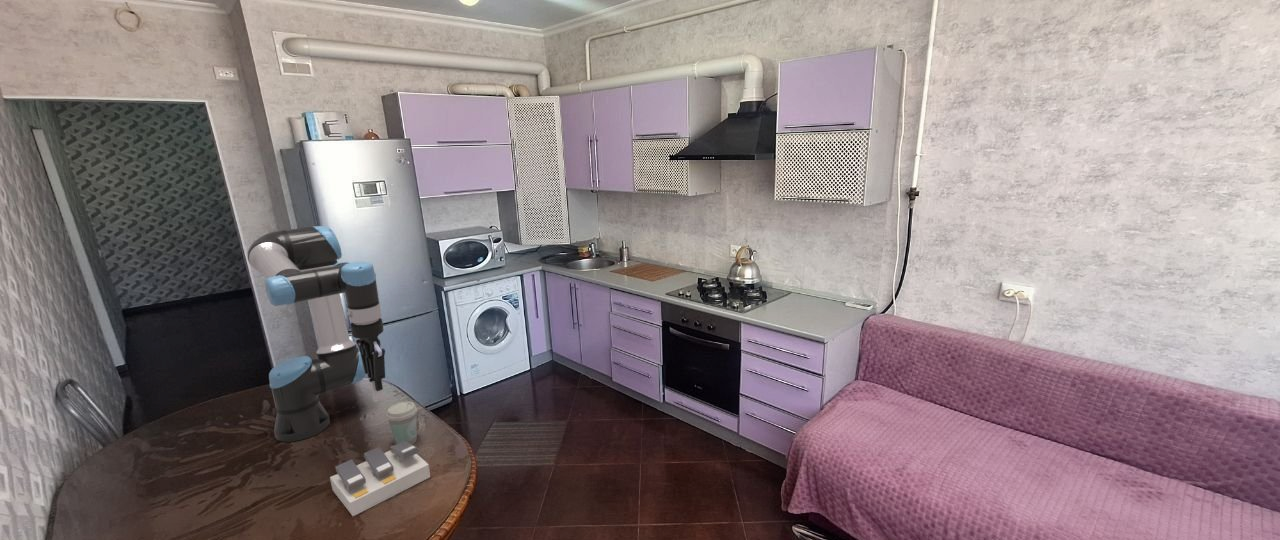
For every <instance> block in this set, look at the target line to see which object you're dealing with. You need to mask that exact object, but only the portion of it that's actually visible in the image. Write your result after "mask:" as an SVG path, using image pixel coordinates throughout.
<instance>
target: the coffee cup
mask: <svg viewBox="0 0 1280 540" xmlns="http://www.w3.org/2000/svg"><path fill="white" fill-rule="evenodd" d="M417 413H418V408H417V406H416V405H415V403H414V402H412V401H400V402H397V403H394V404H392V405H390V407H388V409H387V412H386V419H387V420H388V423H389V426H390V429H391V432H392V436H393V439H394V441H395V445H396V444H398V443H400V442H402V441H406V442H408V443H410V444H412V445H415V444H416V443H417V440H418V439H417V438H418V436H417V435H418V433H417V429H418V428H417V425H418V424H417Z"/></svg>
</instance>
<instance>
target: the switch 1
mask: <svg viewBox="0 0 1280 540" xmlns="http://www.w3.org/2000/svg"><path fill="white" fill-rule="evenodd" d="M335 472H336V474H338V475H339V477H340V478H341V479H342V481H343V482H344V484H345V485H346V487H347V488H348V490H349V491H350V490H352V489H355V488H357V487H359V486H361V485H363V484H365V483H366V479H365V477H364V476H363V474H362V473H361V471H360V470H359V469H358V467H357V466H356V463H355V462H354V460H353V459H350V460H349V459H348V461H345V462H343V463H340V464H337V465H335Z"/></svg>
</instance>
